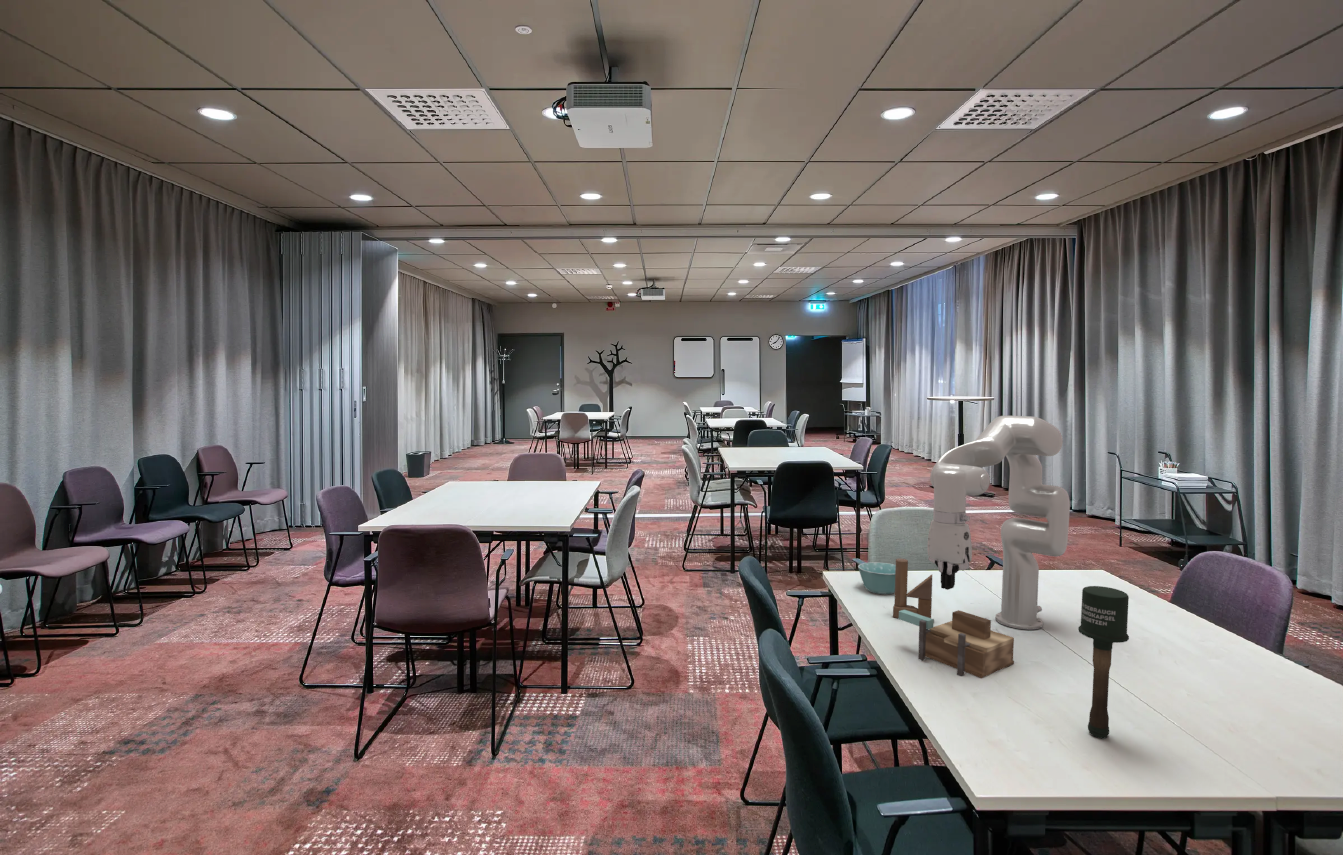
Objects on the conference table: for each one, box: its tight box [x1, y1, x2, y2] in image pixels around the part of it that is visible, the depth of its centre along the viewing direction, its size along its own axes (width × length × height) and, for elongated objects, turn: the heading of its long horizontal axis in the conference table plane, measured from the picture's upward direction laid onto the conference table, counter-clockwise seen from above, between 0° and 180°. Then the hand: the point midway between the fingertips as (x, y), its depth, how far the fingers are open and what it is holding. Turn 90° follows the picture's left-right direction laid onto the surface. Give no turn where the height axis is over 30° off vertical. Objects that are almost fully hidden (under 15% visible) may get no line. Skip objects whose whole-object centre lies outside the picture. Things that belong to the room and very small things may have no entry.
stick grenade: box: [1077, 585, 1130, 739], centre depth 135 cm, size 8×9×30 cm
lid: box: [929, 609, 1015, 652], centre depth 172 cm, size 15×16×7 cm
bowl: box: [857, 561, 896, 596], centre depth 230 cm, size 16×16×8 cm
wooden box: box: [917, 620, 1015, 679], centre depth 171 cm, size 18×16×10 cm
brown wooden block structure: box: [892, 557, 933, 619], centre depth 202 cm, size 4×11×18 cm, turn 64°
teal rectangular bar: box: [898, 610, 935, 629], centre depth 177 cm, size 2×9×2 cm, turn 35°
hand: (947, 587), depth 169 cm, fingers closed
